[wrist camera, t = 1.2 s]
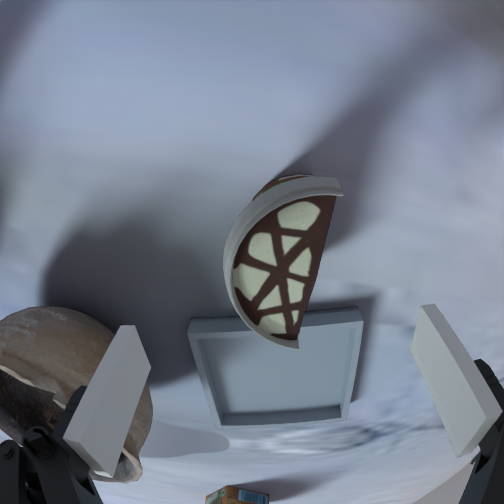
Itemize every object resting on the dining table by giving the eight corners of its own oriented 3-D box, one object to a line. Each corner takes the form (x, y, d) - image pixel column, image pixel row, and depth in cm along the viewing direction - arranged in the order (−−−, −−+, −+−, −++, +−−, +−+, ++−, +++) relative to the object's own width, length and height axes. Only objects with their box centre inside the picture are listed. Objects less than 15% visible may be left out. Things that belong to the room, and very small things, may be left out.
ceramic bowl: (161, 287, 31) (108, 401, 18) (176, 412, 41) (157, 502, 27) (6, 266, 31) (-67, 335, 18) (50, 383, 40) (13, 452, 27)
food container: (243, 145, 25) (233, 166, 16) (315, 158, 26) (346, 185, 17) (224, 275, 31) (211, 344, 22) (287, 284, 31) (297, 355, 22)
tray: (218, 414, 40) (216, 428, 38) (191, 318, 33) (187, 333, 31) (343, 406, 39) (346, 420, 37) (357, 306, 32) (363, 320, 30)
